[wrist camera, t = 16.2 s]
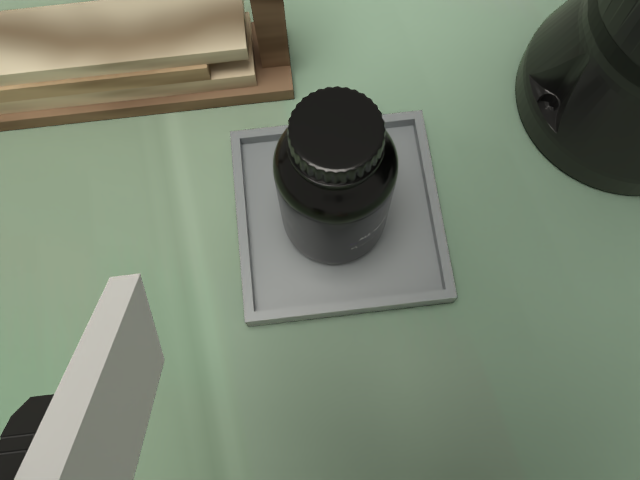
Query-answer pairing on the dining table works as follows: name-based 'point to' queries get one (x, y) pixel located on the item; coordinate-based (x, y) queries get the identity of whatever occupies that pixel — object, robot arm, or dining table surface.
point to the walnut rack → (270, 87)
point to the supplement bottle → (335, 175)
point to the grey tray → (352, 277)
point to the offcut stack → (122, 52)
